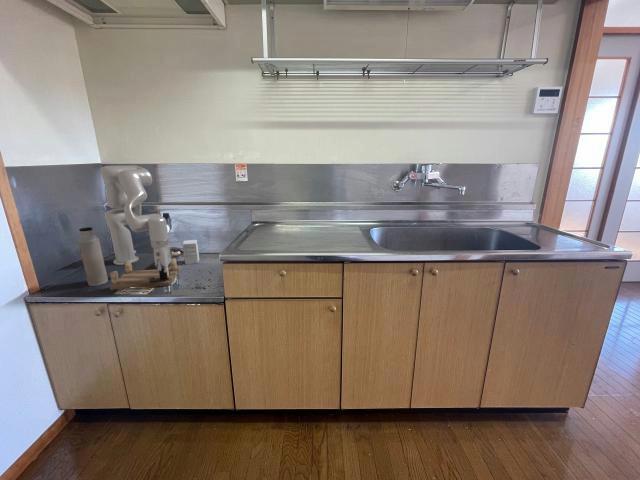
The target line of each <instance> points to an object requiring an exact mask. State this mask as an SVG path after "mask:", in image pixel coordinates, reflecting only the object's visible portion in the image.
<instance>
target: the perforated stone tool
mask: <svg viewBox="0 0 640 480" xmlns="http://www.w3.org/2000/svg"><path fill="white" fill-rule="evenodd" d="M170 253H171V259H174V255H173V251H172V250H171V249H170ZM153 261H154V260H153ZM153 265H154V267H155V268H157V267H156V266H155V261H154V262H153ZM161 266H162V265H161Z"/></svg>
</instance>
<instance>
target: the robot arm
mask: <svg viewBox="0 0 640 480" xmlns="http://www.w3.org/2000/svg"><path fill="white" fill-rule="evenodd" d="M100 175H101V178H102V180H103V182H104V184H105V189H106V190H105V191H106V201H107V206H108V207H109V208H111V209H110V210H107V211H106V212H105V214H104V218H105V222H106V224H107V226H108V229H109V233H110V237H111V241H112V242H111V243H112V246H113V250H114V255H115V259H114V260H113V264H114V265H118V266H121V265H122V266H123V265H124V262H125V261H131V264H132V263H133V264H134V263H136V262H138V261H139V256H136V255H135V254H136V253H137V250H135V249H134V243H133V238H132V234H131V231H132V232H135V233H142V232H146V231H148V233H149V239H150V244H151V245H150V246H151V249H152V248H153V261H155V265H154V267H155V266H156V267H155V268H157V270H158V271H159V275H160V280H167V279H168V277H167V272H166V268H165V267H168V271H169V269H170V262H171V260H172V259H171V253H170V250H171V249H170V239H169V234H168V233H169V231H168V225H167V224H168V223H167V220H166V218H165V217H164V216H161V214H159V213H149V214H143V215H142V203H143V202H145V201H146V200H147V198H148V193H147V191H146V189H145V188H144V187H145V186H146V187H147V186H151V185H152V184H153V176H152V174H151V172H150V171H149V170H148V169H146V168H144V167H142V166H139V165H131V164H130V165H105V166H103V167H101V169H100ZM127 225H128V227H129V228H127V227H126V226H127ZM129 229H130V230H131V231H130V230H129ZM161 265H162V266H161ZM124 266H125V265H124ZM162 268H164V269H162ZM169 276H170V272H169Z"/></svg>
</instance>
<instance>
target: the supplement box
mask: <svg viewBox="0 0 640 480" xmlns="http://www.w3.org/2000/svg"><path fill="white" fill-rule="evenodd" d="M198 246H199V245H198V239H189V240H183V242H182V249H183V257H184V263H185V265H190V264H199V262H200V254H199V247H198Z"/></svg>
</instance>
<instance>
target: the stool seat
mask: <svg viewBox="0 0 640 480" xmlns="http://www.w3.org/2000/svg"><path fill="white" fill-rule="evenodd" d="M169 267H170V268H169V272H170V276H169V277H170V279H168V280H160V281H154V282H149V278H151V277H154V278H158V277H160V275H159V271H158V269H146V270H145V269H142V270H133V265H132V263H131V261H125V262H124V270H125V272H124V273H123V274H122V275H121V276H120V277H119V273H118V270H113V271H111V272H109V276H110V277H109V278H110V281H111V284H110V285H109V290H110V291H112V290H114V291H115V289H116V290H123V289H122V288H130V287H146V288H155V287H156V286H160V287H169V286H170V285H171V284H172V283H173V281H174V280H175V279H176V278H177V276H178V275H179V273H180V272H181V271H180V268H178V264H177V259H176V258H173V259H172V260H171V262H170V264H169ZM156 288H157V287H156Z"/></svg>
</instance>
